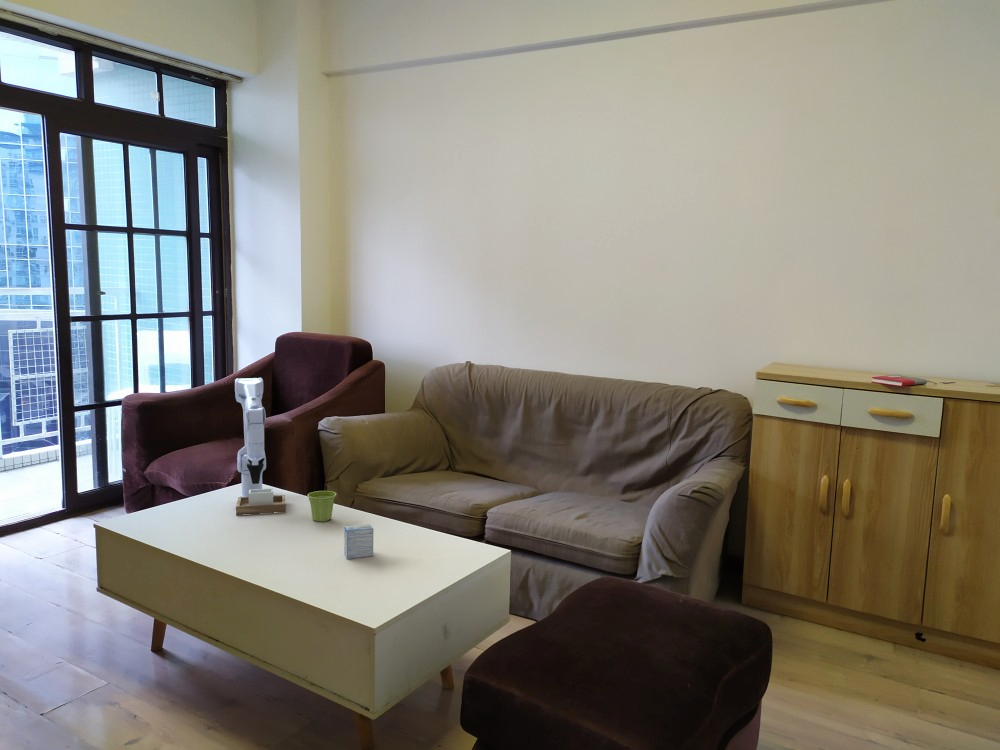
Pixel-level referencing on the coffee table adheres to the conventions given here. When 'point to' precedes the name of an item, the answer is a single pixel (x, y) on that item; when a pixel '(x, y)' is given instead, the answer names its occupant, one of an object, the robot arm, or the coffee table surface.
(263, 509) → the walnut crate
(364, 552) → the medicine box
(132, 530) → the coffee table surface
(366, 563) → the coffee table surface
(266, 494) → the white crate
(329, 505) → the plant pot
